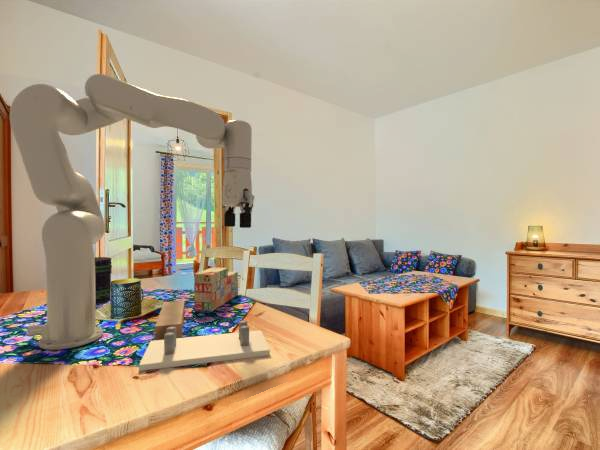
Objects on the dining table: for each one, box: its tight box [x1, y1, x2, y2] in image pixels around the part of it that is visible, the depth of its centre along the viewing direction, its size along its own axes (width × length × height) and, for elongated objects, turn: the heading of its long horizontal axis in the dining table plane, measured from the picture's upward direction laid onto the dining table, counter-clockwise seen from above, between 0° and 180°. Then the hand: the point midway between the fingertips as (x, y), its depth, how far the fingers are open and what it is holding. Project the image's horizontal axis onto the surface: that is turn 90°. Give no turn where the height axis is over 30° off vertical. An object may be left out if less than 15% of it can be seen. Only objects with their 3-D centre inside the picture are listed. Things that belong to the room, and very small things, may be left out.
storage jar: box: [94, 256, 113, 304], centre depth 109 cm, size 10×10×15 cm
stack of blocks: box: [193, 266, 239, 312], centre depth 108 cm, size 21×6×12 cm, turn 169°
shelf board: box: [154, 300, 186, 341], centre depth 85 cm, size 6×22×4 cm, turn 19°
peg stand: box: [138, 320, 271, 372], centre depth 69 cm, size 26×12×5 cm, turn 106°
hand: (237, 227), depth 86 cm, fingers open, 9 cm apart
